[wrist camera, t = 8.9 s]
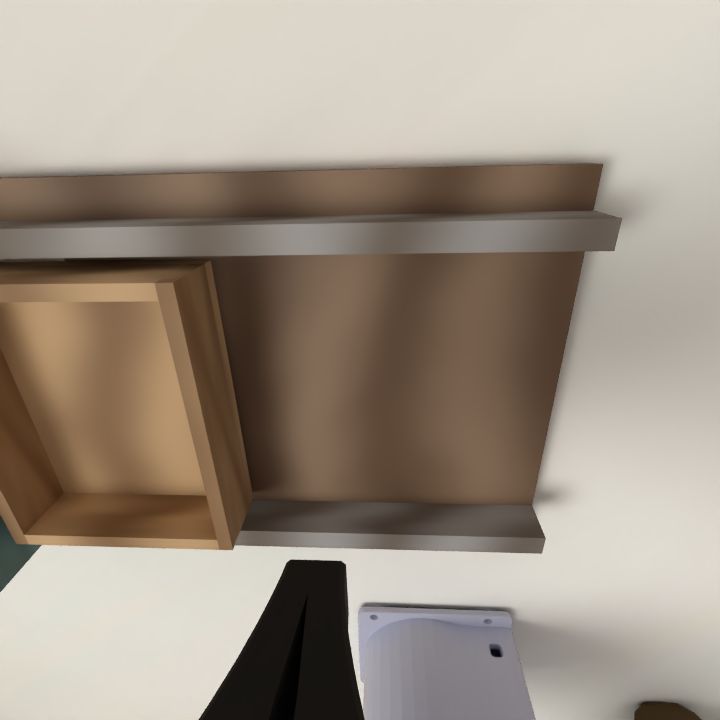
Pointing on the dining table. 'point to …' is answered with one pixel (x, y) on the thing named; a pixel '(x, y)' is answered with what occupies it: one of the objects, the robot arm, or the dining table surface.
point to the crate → (118, 407)
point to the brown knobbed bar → (664, 712)
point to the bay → (360, 332)
